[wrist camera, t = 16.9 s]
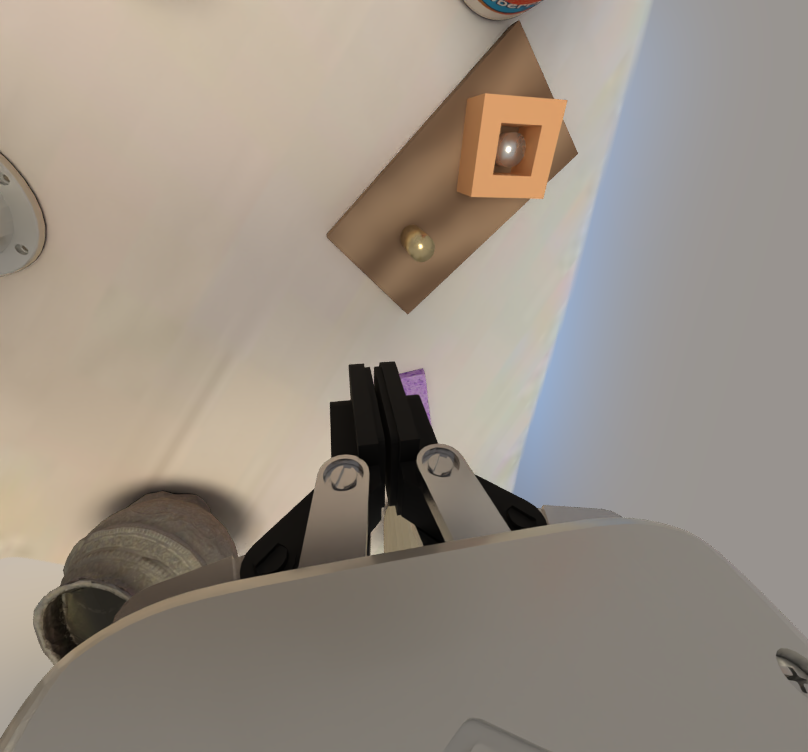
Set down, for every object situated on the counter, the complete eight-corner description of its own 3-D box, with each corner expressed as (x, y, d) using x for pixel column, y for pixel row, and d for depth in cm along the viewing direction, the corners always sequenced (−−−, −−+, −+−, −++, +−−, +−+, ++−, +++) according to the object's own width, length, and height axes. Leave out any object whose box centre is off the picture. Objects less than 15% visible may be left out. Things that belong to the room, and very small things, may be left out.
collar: (467, 98, 29) (485, 93, 25) (541, 104, 30) (567, 100, 27) (456, 191, 33) (471, 196, 29) (522, 193, 34) (543, 198, 31)
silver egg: (479, 148, 31) (493, 149, 29) (501, 125, 30) (516, 124, 28) (493, 171, 32) (507, 173, 30) (515, 150, 32) (530, 151, 29)
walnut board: (326, 233, 34) (327, 237, 33) (510, 25, 28) (519, 20, 27) (405, 309, 40) (407, 314, 39) (569, 153, 34) (578, 153, 33)
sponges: (422, 366, 46) (425, 373, 45) (430, 429, 54) (433, 438, 52) (372, 377, 46) (374, 385, 44) (388, 440, 53) (389, 448, 52)
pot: (260, 541, 61) (229, 740, 41) (130, 559, 56) (23, 791, 36) (238, 464, 49) (178, 688, 29) (72, 479, 45) (-132, 753, 25)
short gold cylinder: (395, 237, 34) (404, 249, 30) (412, 219, 33) (423, 228, 30) (410, 254, 35) (420, 267, 32) (427, 237, 35) (440, 248, 31)
